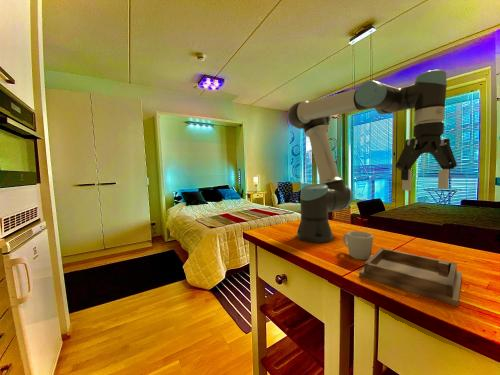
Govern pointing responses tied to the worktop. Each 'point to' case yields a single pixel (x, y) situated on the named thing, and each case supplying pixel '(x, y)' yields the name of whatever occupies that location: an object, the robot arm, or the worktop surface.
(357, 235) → the cup
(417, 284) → the square wooden tray
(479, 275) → the worktop surface
